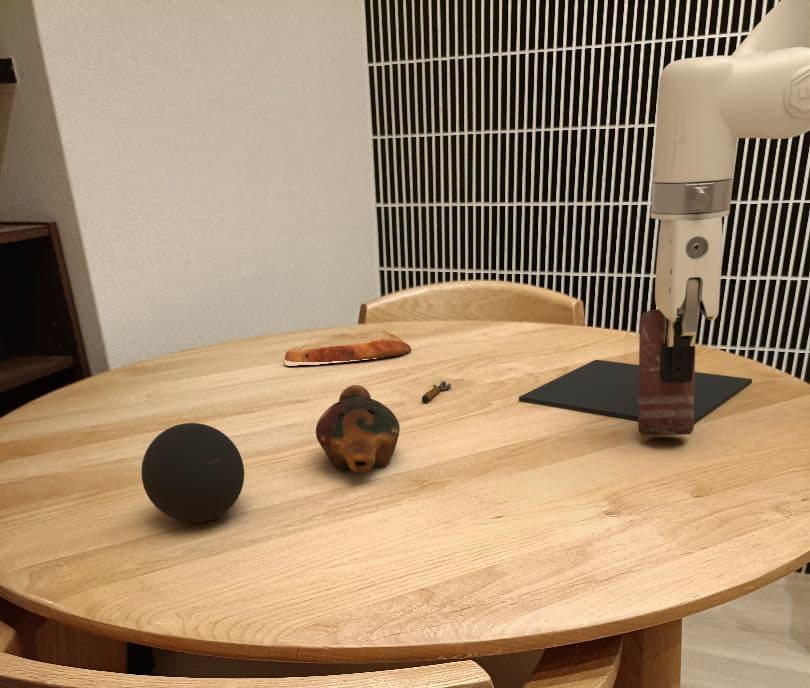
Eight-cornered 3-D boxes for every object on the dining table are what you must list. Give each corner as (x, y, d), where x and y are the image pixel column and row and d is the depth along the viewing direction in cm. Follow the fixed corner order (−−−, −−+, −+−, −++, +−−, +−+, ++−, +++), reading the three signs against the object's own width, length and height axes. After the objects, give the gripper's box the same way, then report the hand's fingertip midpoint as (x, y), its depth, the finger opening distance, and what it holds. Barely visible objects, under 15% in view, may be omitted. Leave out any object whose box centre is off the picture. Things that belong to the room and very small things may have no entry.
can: (687, 434, 90) (690, 303, 89) (631, 435, 94) (632, 310, 92) (701, 434, 95) (704, 311, 94) (647, 435, 99) (649, 316, 97)
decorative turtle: (389, 437, 103) (389, 375, 99) (411, 490, 90) (411, 422, 86) (312, 442, 102) (308, 380, 98) (323, 497, 89) (319, 428, 85)
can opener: (428, 403, 114) (427, 395, 114) (413, 402, 116) (412, 394, 115) (455, 386, 122) (454, 378, 121) (440, 385, 123) (440, 377, 122)
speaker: (230, 541, 79) (213, 443, 75) (135, 538, 81) (112, 443, 77) (263, 499, 88) (250, 409, 84) (177, 497, 90) (159, 410, 85)
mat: (751, 383, 114) (752, 378, 113) (687, 429, 99) (687, 424, 99) (595, 363, 128) (595, 359, 128) (518, 400, 113) (518, 396, 113)
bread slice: (274, 365, 139) (271, 343, 138) (340, 341, 152) (338, 321, 150) (357, 376, 130) (355, 353, 128) (420, 349, 143) (419, 328, 141)
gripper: (750, 204, 74) (727, 400, 83) (712, 192, 88) (696, 361, 96) (665, 209, 75) (651, 402, 84) (640, 196, 89) (630, 364, 97)
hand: (675, 380), depth 90 cm, fingers closed
